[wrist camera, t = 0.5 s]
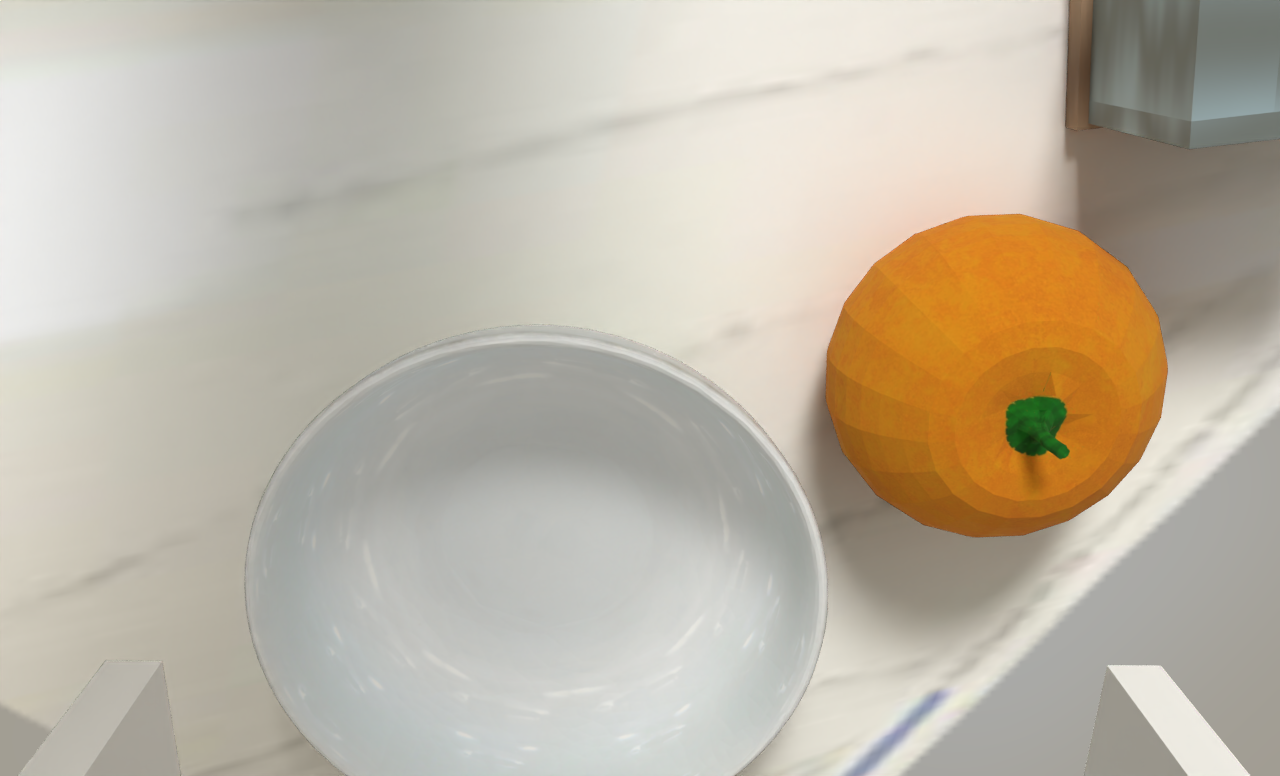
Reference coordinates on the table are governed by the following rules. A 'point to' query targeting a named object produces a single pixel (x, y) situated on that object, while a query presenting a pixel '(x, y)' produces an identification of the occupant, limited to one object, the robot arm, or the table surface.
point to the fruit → (996, 375)
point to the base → (1176, 69)
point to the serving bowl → (536, 567)
